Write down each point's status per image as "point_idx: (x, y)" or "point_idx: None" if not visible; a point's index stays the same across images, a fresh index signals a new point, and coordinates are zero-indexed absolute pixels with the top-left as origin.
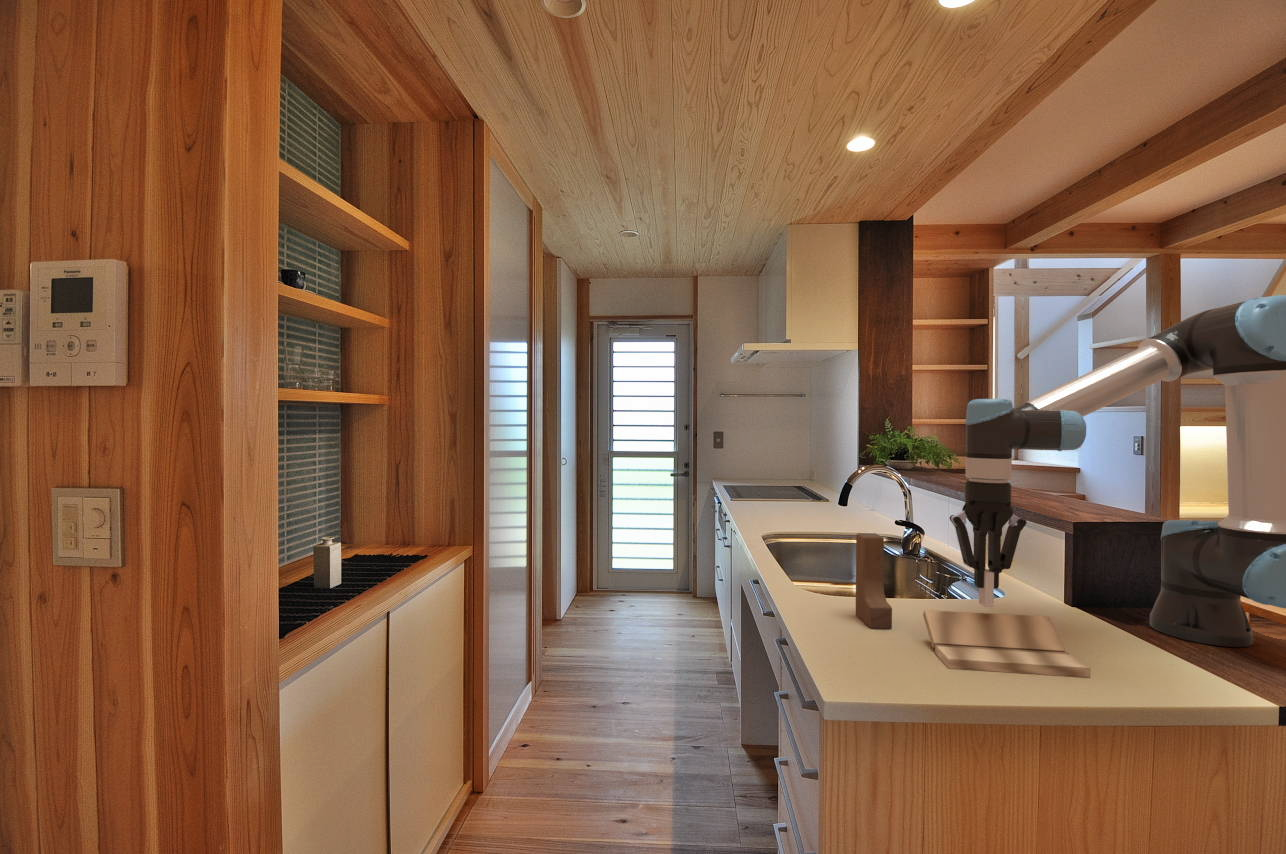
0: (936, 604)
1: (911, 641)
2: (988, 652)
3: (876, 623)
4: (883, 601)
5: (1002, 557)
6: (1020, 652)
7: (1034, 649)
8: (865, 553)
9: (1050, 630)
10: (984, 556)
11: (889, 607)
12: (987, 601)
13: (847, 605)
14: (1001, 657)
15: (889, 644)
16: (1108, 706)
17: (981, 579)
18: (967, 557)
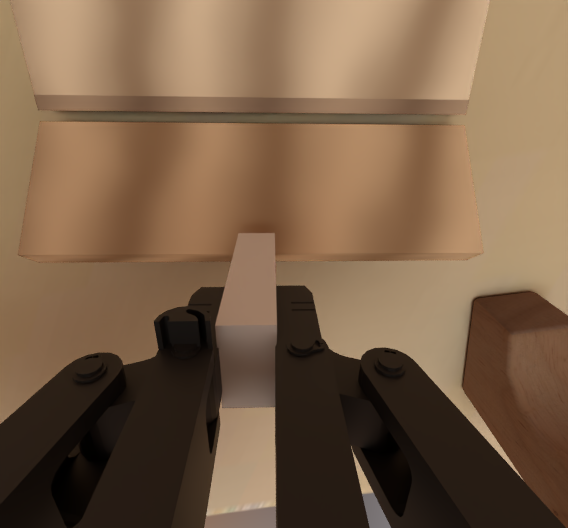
0: (267, 477)
1: None
2: (315, 62)
3: (528, 299)
4: (523, 369)
5: (85, 488)
6: (200, 84)
7: (142, 124)
8: None
9: (47, 195)
10: (290, 433)
11: (520, 333)
12: (264, 241)
13: (495, 439)
14: (290, 11)
15: (550, 174)
16: None
17: (290, 313)
18: (454, 416)
